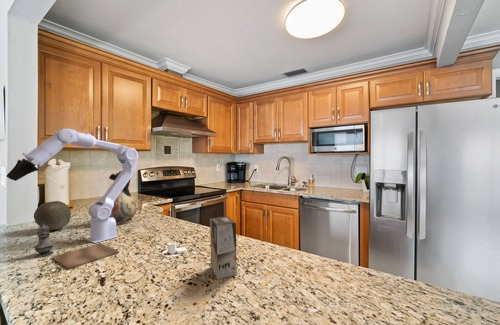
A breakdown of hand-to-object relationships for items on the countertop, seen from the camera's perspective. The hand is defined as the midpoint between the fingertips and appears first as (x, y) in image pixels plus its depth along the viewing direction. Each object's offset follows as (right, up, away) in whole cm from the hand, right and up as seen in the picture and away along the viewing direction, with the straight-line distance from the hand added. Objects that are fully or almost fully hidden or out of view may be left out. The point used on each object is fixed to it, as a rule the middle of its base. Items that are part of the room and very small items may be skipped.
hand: (10, 178), depth 81 cm
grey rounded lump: (-16, -29, +37) cm, 50 cm away
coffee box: (+77, -29, -9) cm, 82 cm away
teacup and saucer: (+57, -29, +4) cm, 64 cm away
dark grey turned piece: (+7, -30, +6) cm, 31 cm away
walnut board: (+24, -29, +4) cm, 38 cm away
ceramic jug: (+12, -29, +50) cm, 59 cm away
